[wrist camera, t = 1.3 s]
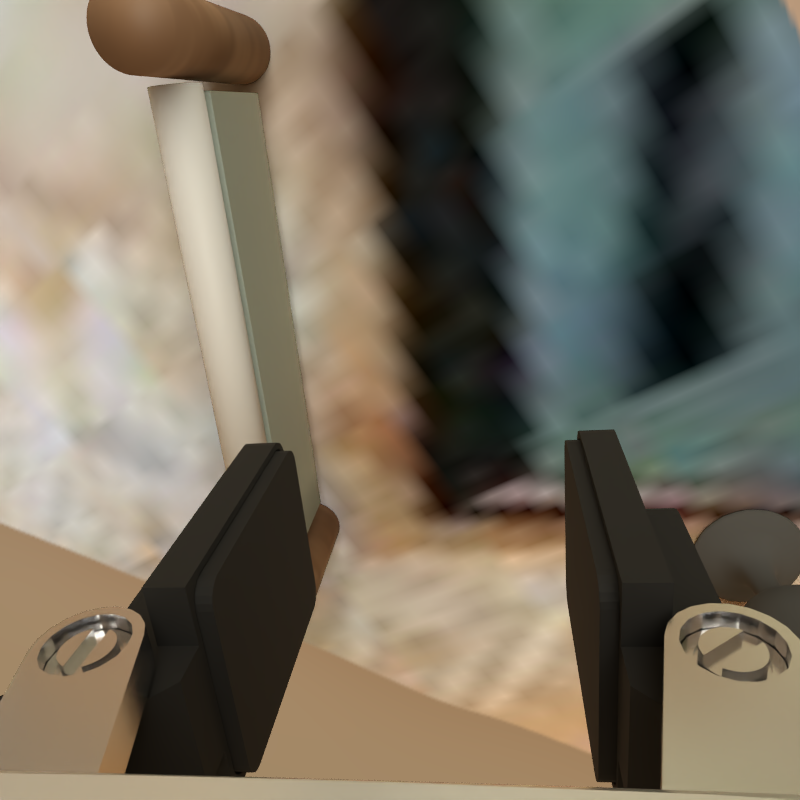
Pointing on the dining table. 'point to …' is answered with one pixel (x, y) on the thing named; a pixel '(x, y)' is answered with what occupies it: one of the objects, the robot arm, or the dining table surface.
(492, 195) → the dining table surface
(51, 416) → the dining table surface
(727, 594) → the sundae
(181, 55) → the gateposts
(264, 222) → the grey rectangular bar
